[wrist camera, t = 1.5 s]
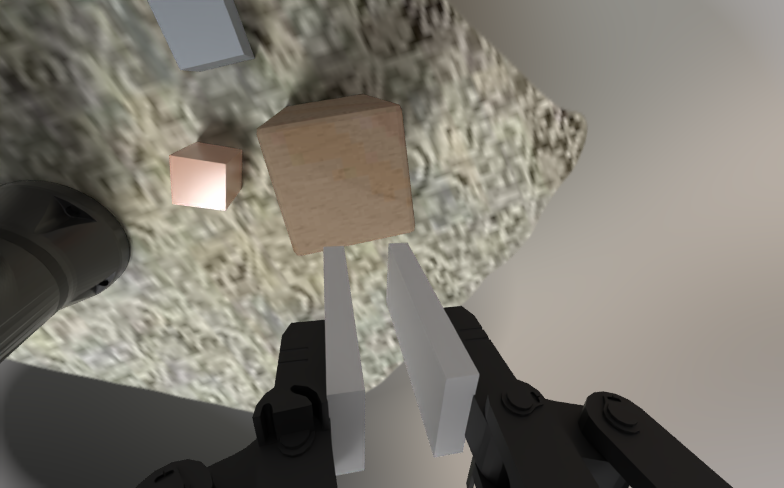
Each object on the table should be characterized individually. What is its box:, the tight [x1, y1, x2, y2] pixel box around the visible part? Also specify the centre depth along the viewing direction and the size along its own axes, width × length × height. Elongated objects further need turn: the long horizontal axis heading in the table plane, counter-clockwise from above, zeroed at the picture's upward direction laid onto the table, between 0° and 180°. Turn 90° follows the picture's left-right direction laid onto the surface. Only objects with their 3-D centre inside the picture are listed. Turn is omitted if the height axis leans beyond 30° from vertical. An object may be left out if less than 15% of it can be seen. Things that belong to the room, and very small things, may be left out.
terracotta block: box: [169, 142, 242, 211], centre depth 37 cm, size 5×5×8 cm
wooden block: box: [257, 94, 415, 256], centre depth 33 cm, size 10×10×20 cm
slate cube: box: [147, 0, 255, 72], centre depth 32 cm, size 6×6×6 cm
